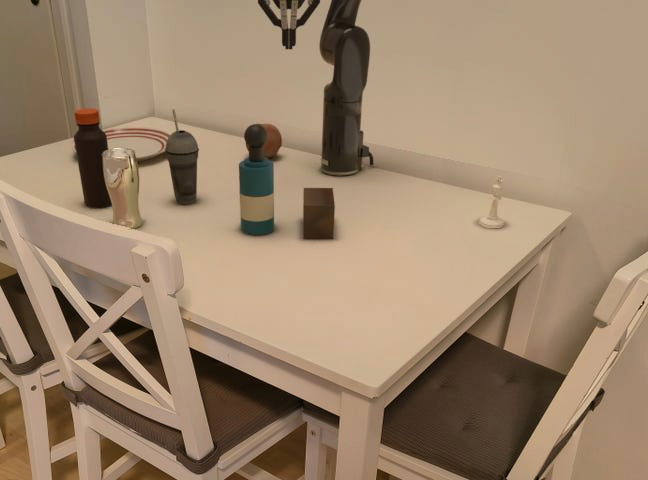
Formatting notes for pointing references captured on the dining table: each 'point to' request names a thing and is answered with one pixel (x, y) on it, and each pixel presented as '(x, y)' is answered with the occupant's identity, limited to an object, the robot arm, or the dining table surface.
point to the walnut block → (318, 213)
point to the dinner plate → (137, 141)
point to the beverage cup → (183, 164)
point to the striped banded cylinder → (256, 185)
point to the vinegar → (91, 157)
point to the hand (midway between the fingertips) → (288, 48)
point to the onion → (271, 141)
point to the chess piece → (494, 208)
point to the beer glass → (122, 185)
